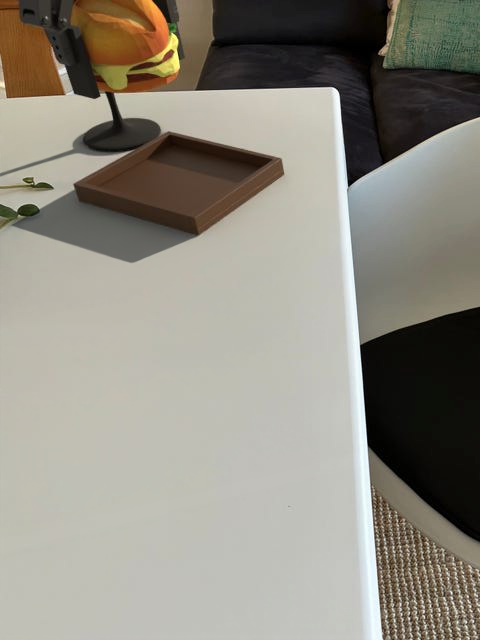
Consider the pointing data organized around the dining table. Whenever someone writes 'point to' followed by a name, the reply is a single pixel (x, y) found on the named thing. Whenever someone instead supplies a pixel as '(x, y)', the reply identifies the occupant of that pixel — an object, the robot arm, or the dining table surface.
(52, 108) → the dining table surface
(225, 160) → the tray
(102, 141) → the wine glass
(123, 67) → the cheeseburger
